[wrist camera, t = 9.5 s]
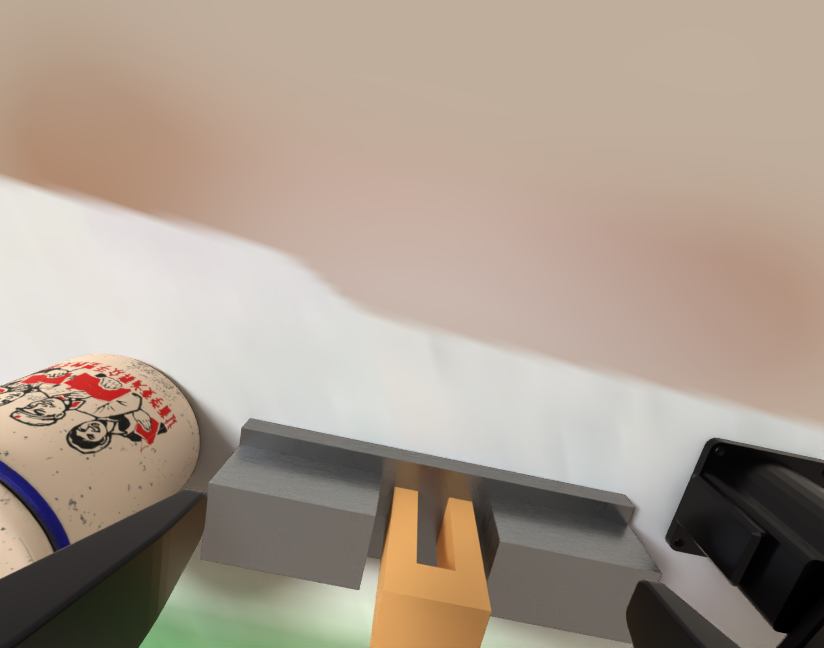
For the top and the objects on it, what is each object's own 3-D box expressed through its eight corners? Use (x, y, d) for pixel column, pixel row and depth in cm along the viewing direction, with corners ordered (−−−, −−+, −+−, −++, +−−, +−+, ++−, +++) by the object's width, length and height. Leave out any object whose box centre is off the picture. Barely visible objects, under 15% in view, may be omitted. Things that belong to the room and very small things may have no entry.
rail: (625, 495, 21) (669, 555, 17) (589, 585, 23) (623, 659, 19) (250, 418, 21) (210, 462, 17) (237, 515, 22) (198, 576, 18)
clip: (471, 501, 21) (491, 611, 15) (458, 550, 21) (471, 673, 15) (394, 486, 20) (383, 590, 15) (383, 535, 21) (368, 653, 15)
